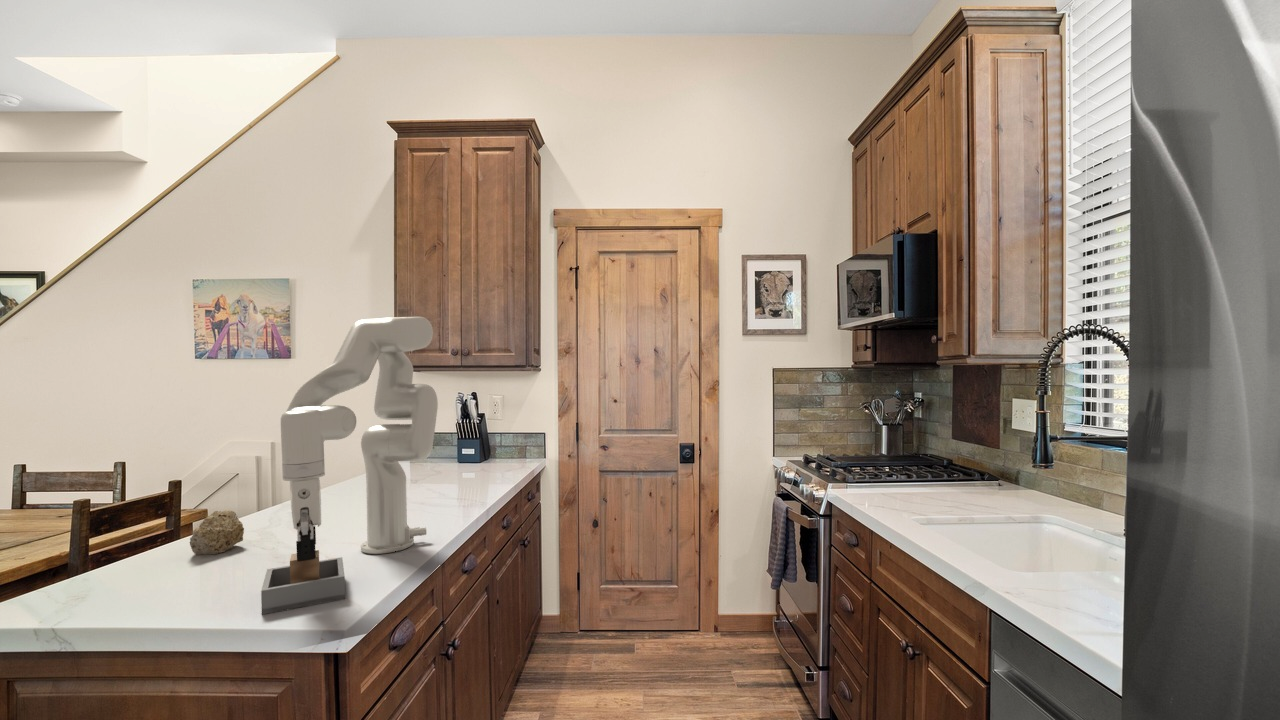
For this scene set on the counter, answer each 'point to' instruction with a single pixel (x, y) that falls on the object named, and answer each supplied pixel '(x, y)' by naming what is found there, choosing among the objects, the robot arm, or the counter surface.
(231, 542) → the rock
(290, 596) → the bin
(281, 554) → the counter surface
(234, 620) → the counter surface
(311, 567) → the walnut block
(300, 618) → the counter surface
